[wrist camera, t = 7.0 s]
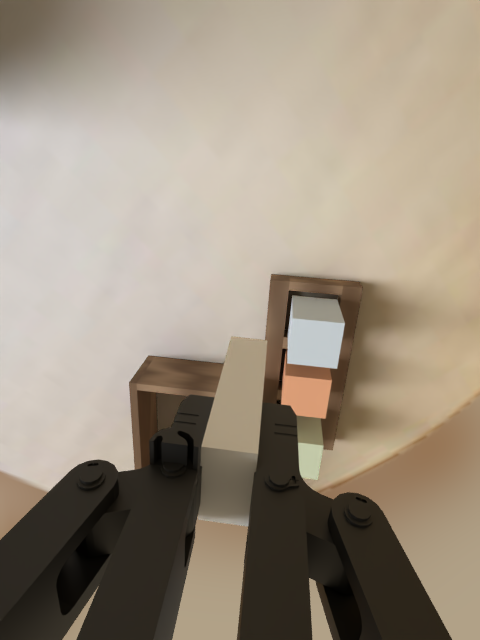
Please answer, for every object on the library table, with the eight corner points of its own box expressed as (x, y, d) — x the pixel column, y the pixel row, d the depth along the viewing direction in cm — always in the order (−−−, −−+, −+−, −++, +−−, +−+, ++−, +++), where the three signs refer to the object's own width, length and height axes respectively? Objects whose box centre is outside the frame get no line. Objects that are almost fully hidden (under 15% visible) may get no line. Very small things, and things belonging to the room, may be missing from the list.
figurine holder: (153, 470, 53) (137, 506, 48) (148, 355, 46) (129, 382, 41) (249, 483, 52) (244, 521, 47) (259, 367, 45) (255, 397, 40)
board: (257, 429, 49) (256, 440, 47) (271, 274, 41) (270, 279, 39) (331, 438, 48) (332, 450, 46) (359, 282, 40) (362, 287, 38)
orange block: (282, 381, 44) (280, 413, 39) (285, 347, 43) (285, 375, 37) (321, 385, 44) (325, 418, 39) (326, 351, 42) (331, 380, 37)
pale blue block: (287, 335, 41) (287, 363, 35) (292, 295, 39) (292, 318, 33) (330, 339, 40) (336, 368, 35) (337, 299, 38) (344, 323, 33)
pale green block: (276, 435, 46) (274, 474, 40) (279, 404, 44) (278, 440, 38) (314, 440, 45) (317, 479, 40) (319, 409, 44) (323, 445, 38)
